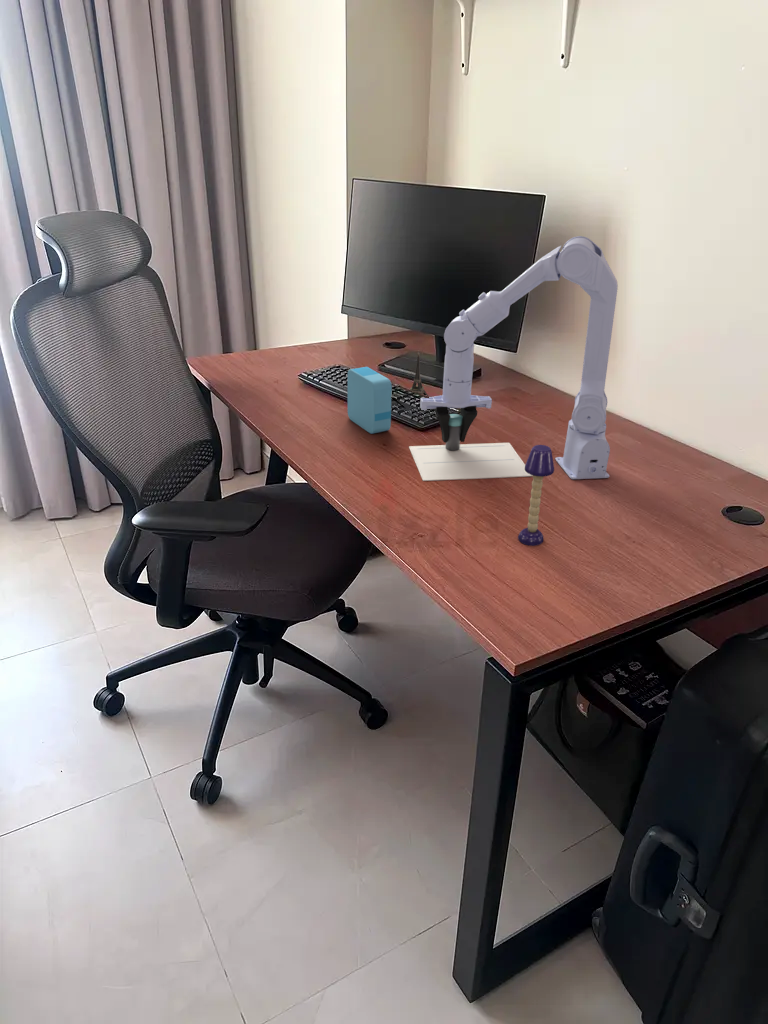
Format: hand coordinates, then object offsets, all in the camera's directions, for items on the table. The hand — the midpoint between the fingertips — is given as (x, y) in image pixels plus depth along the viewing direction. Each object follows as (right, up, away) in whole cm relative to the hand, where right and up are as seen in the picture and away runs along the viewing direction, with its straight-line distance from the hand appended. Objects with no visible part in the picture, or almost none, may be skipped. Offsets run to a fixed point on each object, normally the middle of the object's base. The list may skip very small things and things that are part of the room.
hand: (453, 440), depth 154 cm
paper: (+3, -5, -4) cm, 7 cm away
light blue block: (-18, +4, +12) cm, 22 cm away
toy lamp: (+10, -20, -30) cm, 37 cm away
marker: (0, -2, +1) cm, 2 cm away
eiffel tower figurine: (-7, +12, +27) cm, 31 cm away
